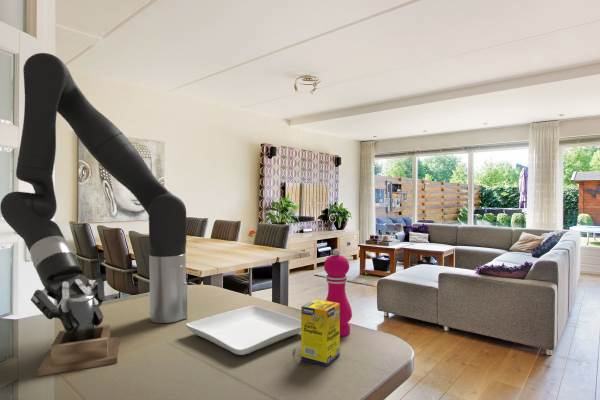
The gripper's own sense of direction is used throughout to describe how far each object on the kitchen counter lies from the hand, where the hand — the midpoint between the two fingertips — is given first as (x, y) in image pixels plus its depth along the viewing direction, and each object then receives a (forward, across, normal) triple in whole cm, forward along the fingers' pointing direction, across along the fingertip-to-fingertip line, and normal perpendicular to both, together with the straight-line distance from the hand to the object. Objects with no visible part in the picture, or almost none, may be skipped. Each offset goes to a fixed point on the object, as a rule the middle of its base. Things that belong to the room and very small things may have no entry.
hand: (87, 326), depth 75 cm
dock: (+3, 0, +6) cm, 7 cm away
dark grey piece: (+2, 0, +4) cm, 5 cm away
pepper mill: (+31, +39, -22) cm, 54 cm away
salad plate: (+19, +26, -9) cm, 34 cm away
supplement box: (+33, +24, -24) cm, 48 cm away
